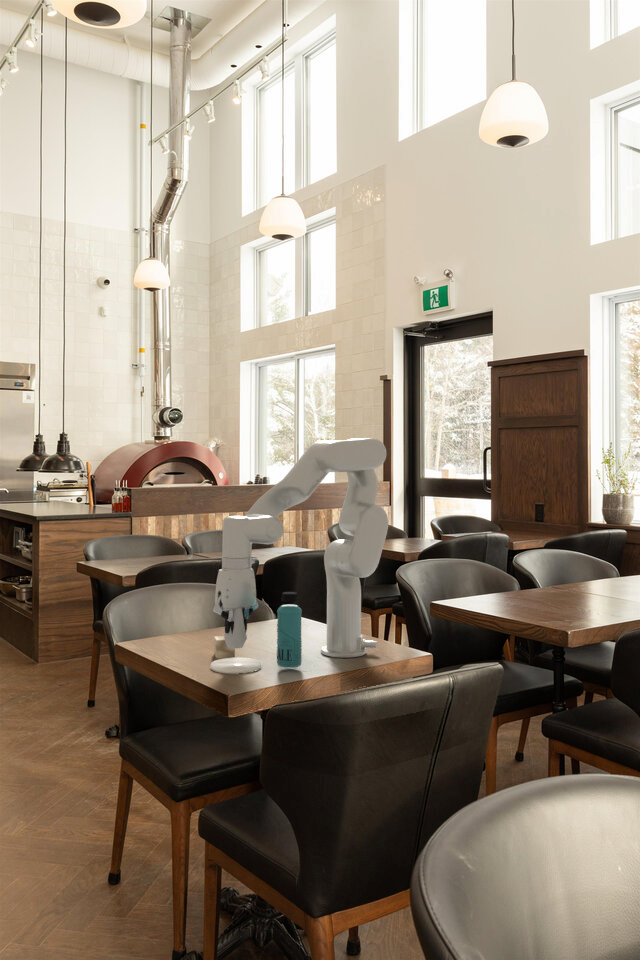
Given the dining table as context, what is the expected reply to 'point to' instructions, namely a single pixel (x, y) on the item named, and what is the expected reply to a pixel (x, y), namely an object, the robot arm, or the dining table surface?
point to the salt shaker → (236, 631)
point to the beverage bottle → (289, 632)
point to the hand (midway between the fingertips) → (235, 634)
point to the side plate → (235, 665)
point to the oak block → (222, 648)
